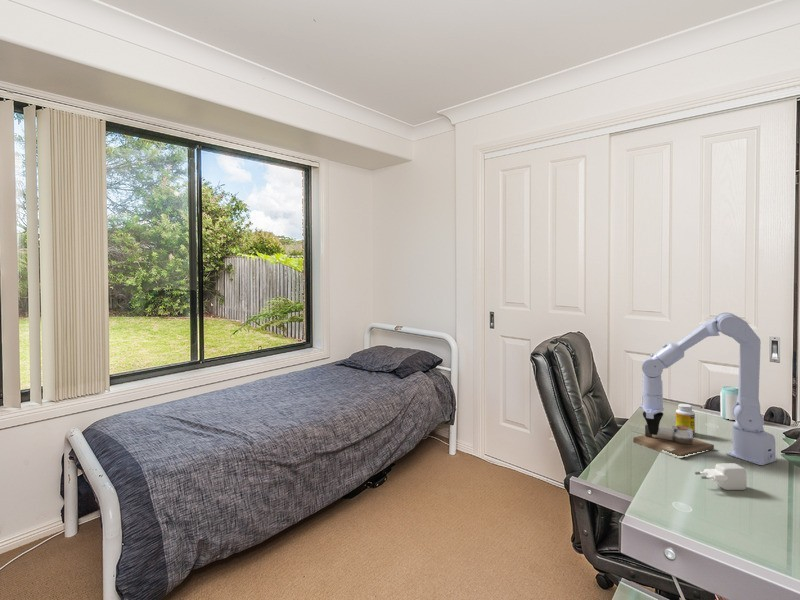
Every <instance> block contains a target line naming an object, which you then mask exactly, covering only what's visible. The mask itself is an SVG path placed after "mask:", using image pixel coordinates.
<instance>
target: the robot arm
mask: <svg viewBox="0 0 800 600" xmlns="http://www.w3.org/2000/svg"><path fill="white" fill-rule="evenodd" d="M720 333H721V334H723V335H725V336H727V337H729V338H731V339H733V340H735V342H737V343H738V344H739V356H738V357H739V360H738V361H739V362H738V363H739V365H738V387H737V388H738V396H737V403H736V405H735V406H734V408H733V415H734V417H735V418H736V419H737V420H736V421H734V422H733V423H732V448H733V449H732V450H731V451H728V452H727V451H726V453H725V454H726V455H727V456H731V457H734V458H737V459H740V460H744V461H746V462H750V463H752V464H755V465H759V466H764V465H767V464H771V463H774V462H776V461H778V458H777V457H776V456H777V455H776V439H775V436H774V435H773V434H772V433H769V432H767V431H765V430H764V428H765V427H764V425H765V420H764V417H763V415H762V413H761V403H760V399H759V398H760V397H759V396H760V372H761V371H760V368H761V367H760V366H761V339H760V337H759V335H758V334H757V333H756V332H755V330H753V328H752V327H751V326H750V325H749V323H748V322H747V321H746V320H744V319H742V318H741V317H739V316H738V315H735V314H733V313H732V312H722V313H719V314H718V315H716V316H715V317H712V318H710V319H709V320H707V321H705V322H704V323H702V324H701V325H700V326H698V327H697V328H696V329H694V330H692V332H690V333H688V334H687V335H685V337H683V338H682V339H681V340H679V341H678V342H675V343H674V342H670V343H664V344H663V345H662V348H661V349H659V350H658V351H656V352H655V353H651V354H650V357H647V358H645V359H644V360H643V361H642V364H641V371H642V372H643V374H642V404H639V405H638V408H639V409H642V410H643V412H642V416H643V418H644V419H645V422H646V425H648V430H649V433H650V434H653V435H657V433H658V429H659V427H660V423H661V420H662V418H663V417H664V413H663V412H664V410H665V409H664V400H663V399H664V397H663V390H664V389H663V380H662V374H663V372H664V371H663V370H665V369H668V368H670V367H671V366H673V365H674V364H676V363H677V362H679V361H680V360H682V359H683V358H684V357H685V352H686V351H688V350H689V349H690V348H692V347H693V346H695V345H696V344H698V343H700V342H701V341H703V340H704V339H706V338H708V337H718V336H719V337H720Z"/></svg>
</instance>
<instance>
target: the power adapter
mask: <svg viewBox="0 0 800 600" xmlns="http://www.w3.org/2000/svg"><path fill="white" fill-rule="evenodd" d="M694 475H696V476H697V475H699V476H700V475H701V476H700V478H701V480H711V481H713V482H714V483H715V484H716V485H717V486H718V485H719V486H718V487H720V488H721V489H723V490H725V491H743V490H746V489H747V485H748V484H747V482H748V481H747V470H746V468H745V467H743V466H741V465H740V464H737V463H735V462H733V463H730V462H728V463H727V462H726V463H716V464H715V467H714V468H704V470H703V471H695V472H694Z"/></svg>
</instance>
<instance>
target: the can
mask: <svg viewBox="0 0 800 600" xmlns="http://www.w3.org/2000/svg"><path fill="white" fill-rule="evenodd" d="M719 394H720V396H719V397H720V398H719V399H720V401H719V403H720V404H719V407H720V417H721V418H723V419H724V418H725V419H724V420H726V419H729V420H728V421H730V420H737V419H736V418H735V417H734V415H733V408H734V406H735V405H736V403H737V396H738V387H737V386H722V387H721V390H720V392H719Z"/></svg>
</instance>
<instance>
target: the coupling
mask: <svg viewBox="0 0 800 600" xmlns="http://www.w3.org/2000/svg"><path fill="white" fill-rule="evenodd" d="M644 435H645V436H648V437H656V438H662V439H668V440H673V441H674V442H676V443H680V444H692V443H693V439H694V438H693V437H694V435H693V429H691V428H689V427H687V426H683V425H677V426H676V425H673V426H671V428H669V427H664V426H659V429H658V433H657V435H653V434H650V433H649V430H648V425H647V424H645V425H644Z"/></svg>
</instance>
